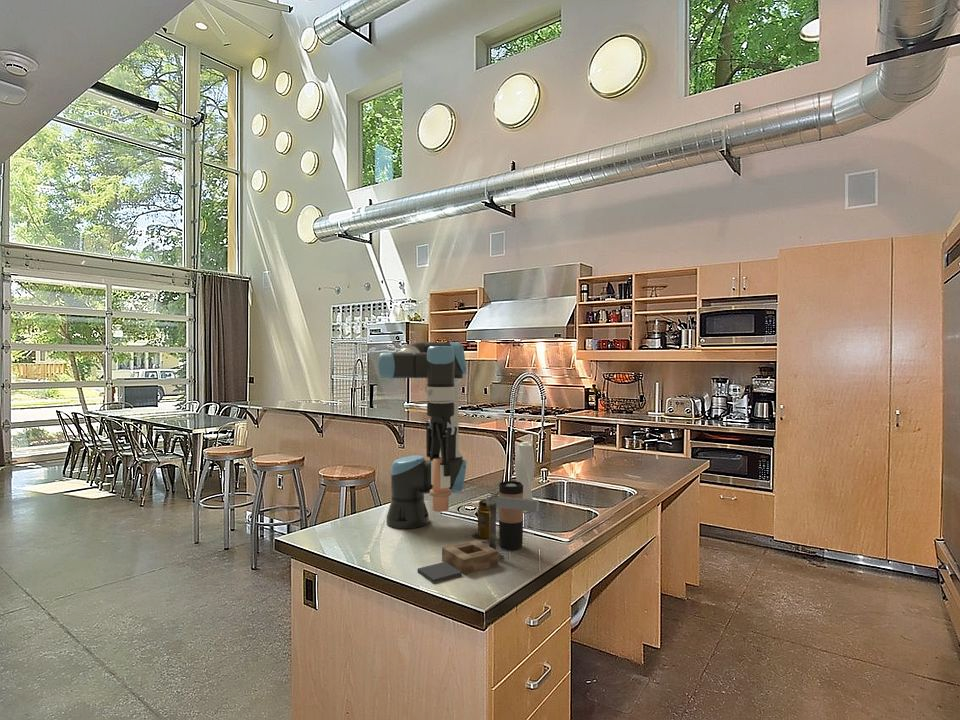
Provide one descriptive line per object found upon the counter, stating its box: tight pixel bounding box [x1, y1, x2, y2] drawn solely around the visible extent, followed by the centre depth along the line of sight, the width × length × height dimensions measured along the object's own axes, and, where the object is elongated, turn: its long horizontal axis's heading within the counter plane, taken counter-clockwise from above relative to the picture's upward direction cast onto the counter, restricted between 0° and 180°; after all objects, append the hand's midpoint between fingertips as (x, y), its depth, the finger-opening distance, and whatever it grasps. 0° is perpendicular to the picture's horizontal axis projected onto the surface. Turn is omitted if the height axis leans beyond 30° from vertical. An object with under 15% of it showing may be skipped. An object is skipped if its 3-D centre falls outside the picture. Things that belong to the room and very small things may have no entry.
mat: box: [417, 561, 463, 584], centre depth 159 cm, size 9×9×1 cm
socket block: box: [441, 507, 505, 575], centre depth 168 cm, size 12×16×15 cm
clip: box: [486, 494, 540, 513], centre depth 169 cm, size 4×16×3 cm, turn 68°
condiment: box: [467, 498, 499, 543], centre depth 189 cm, size 7×8×12 cm
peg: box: [429, 458, 452, 513], centre depth 159 cm, size 6×6×14 cm
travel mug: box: [498, 480, 524, 552], centre depth 181 cm, size 8×8×20 cm
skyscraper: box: [514, 438, 536, 515], centre depth 219 cm, size 8×8×28 cm
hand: (440, 485), depth 159 cm, fingers closed on peg, 4 cm apart
